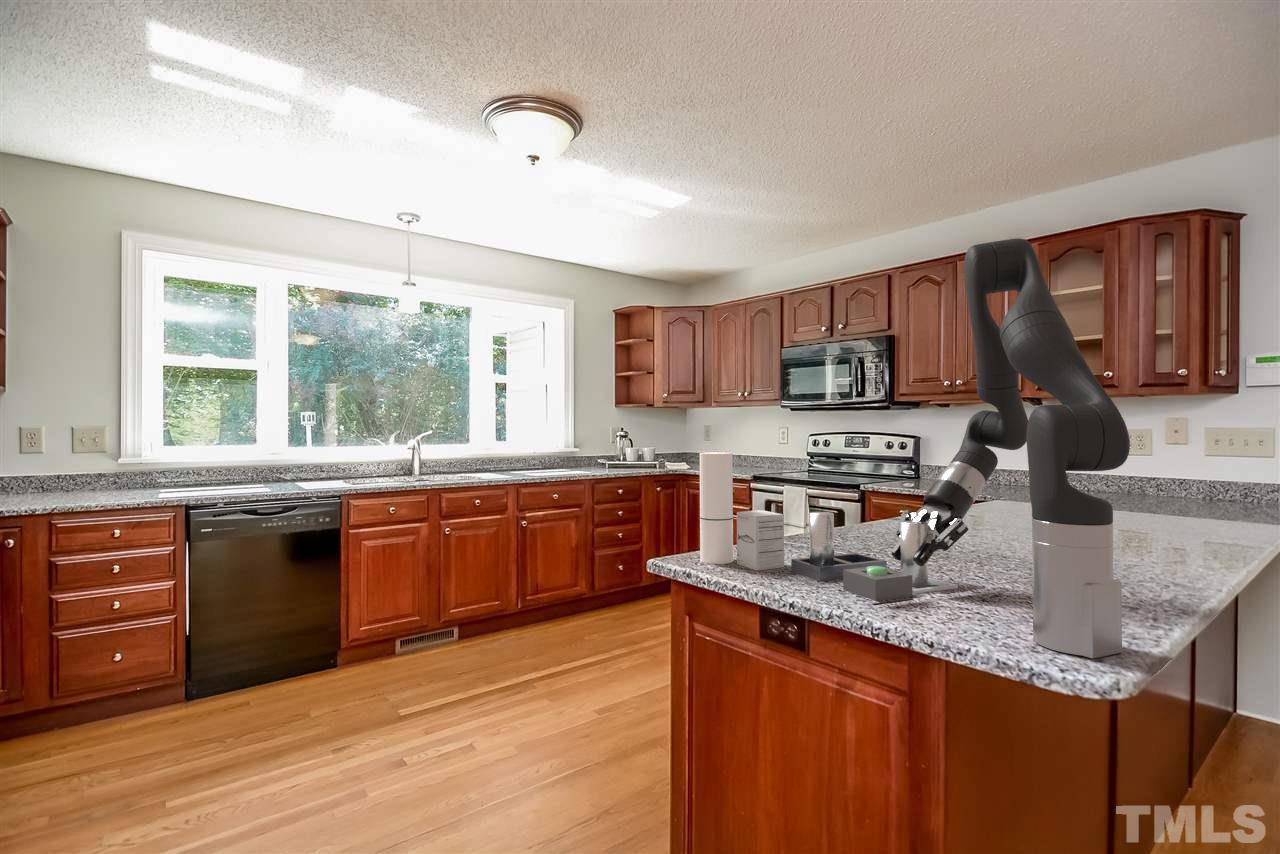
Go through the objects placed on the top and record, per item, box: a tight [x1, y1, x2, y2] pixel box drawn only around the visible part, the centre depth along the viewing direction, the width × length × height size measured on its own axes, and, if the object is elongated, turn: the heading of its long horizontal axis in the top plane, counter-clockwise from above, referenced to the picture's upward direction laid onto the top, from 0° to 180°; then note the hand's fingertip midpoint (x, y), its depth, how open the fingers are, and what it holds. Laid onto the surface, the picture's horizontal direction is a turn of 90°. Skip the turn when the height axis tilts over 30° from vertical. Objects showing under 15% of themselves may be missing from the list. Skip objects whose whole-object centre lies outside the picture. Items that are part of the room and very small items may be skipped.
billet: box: [900, 521, 929, 589], centre depth 115 cm, size 5×5×12 cm
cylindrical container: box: [699, 451, 734, 565], centre depth 137 cm, size 7×7×25 cm
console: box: [842, 567, 914, 606], centre depth 109 cm, size 8×8×5 cm
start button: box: [867, 566, 888, 576], centre depth 109 cm, size 3×3×3 cm
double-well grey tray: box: [790, 552, 888, 583], centre depth 125 cm, size 9×16×4 cm, turn 112°
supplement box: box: [736, 509, 785, 571], centre depth 132 cm, size 7×7×13 cm
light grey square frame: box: [912, 576, 958, 595], centre depth 115 cm, size 10×10×2 cm
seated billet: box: [809, 511, 835, 566], centre depth 123 cm, size 5×5×12 cm
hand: (906, 559), depth 114 cm, fingers closed on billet, 4 cm apart
